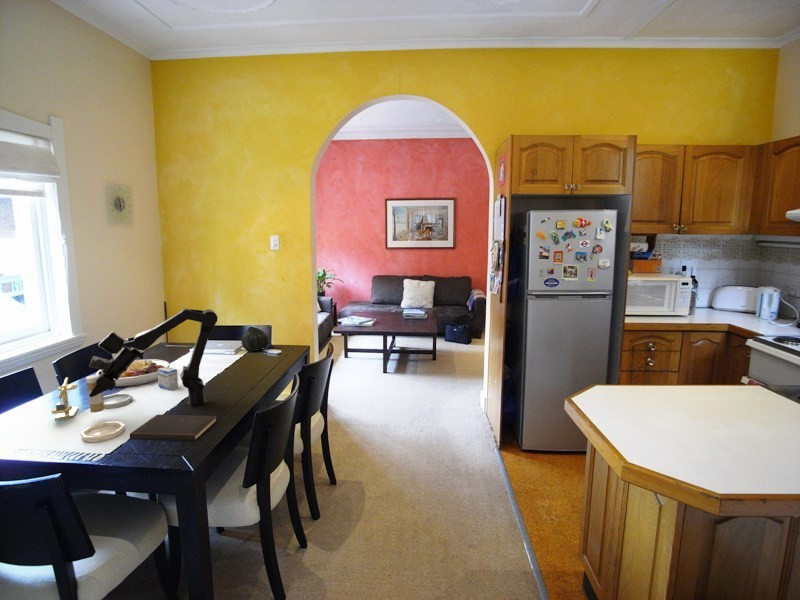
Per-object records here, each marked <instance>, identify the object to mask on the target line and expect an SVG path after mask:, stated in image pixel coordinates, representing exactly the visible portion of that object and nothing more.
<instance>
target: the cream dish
mask: <svg viewBox="0 0 800 600" xmlns="http://www.w3.org/2000/svg"><path fill="white" fill-rule="evenodd" d="M124 429H125V424H123V422H121V421H105V422H100V423H97V424H94V425H89V426H88V427H86V428H85V429H84V430H82V431H81V432H80V436H81V440H82V441H83V442H86V443H98V442H105V441H108V440H111V439H114V438H116V437H118V436H120V435H121V434H122V433H124V431H125V430H124Z"/></svg>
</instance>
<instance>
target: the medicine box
mask: <svg viewBox="0 0 800 600" xmlns="http://www.w3.org/2000/svg"><path fill="white" fill-rule="evenodd" d="M157 380H158V381H157V382H158V388H159V387H160V388H159V389H163V388H164V389H165V390H167V389H168V390H169V391H172V390H175V389H177V387H178V388H179V382H178V381H179V379H178V369H175V368H172V367H169V368H168V367H164V368H160V369H158V379H157ZM174 388H175V389H174ZM171 389H172V390H171ZM168 390H167V391H168Z"/></svg>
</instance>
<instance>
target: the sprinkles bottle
mask: <svg viewBox="0 0 800 600" xmlns="http://www.w3.org/2000/svg"><path fill="white" fill-rule="evenodd" d="M98 376H99V375H96V374H91V375H88V376H86V377H85V382H86V385H87V393H88V394H87V395H88V402H89V411H90V413H99V412H103V411H104V410H106V409H105V407H104V399H103V396H104V392H102V393H100V394H98V395H96V396H93V397H90V396H89V395H90V393H91V392H92V390H93V389H94V387H95V386H96V384H97V383H96V378H98Z"/></svg>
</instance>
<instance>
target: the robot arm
mask: <svg viewBox="0 0 800 600" xmlns="http://www.w3.org/2000/svg"><path fill="white" fill-rule="evenodd" d="M187 320H189V321H193V322H198V323H199V332H198V335H197V337H196V341H195V344H194V347H193V351H192V354H191V356H190V360H189V363H188V365H187V366H186V365H183V367H182V371H181V373H180V374H179V376H180V380H181V384H182V386H183V387H184V388H187V391H188V393H187V394H188V401H186V402H185V404H186V405H188V406H190V407H192V408H194V407H198V406H201V405H204V404H208V403H209V400H207V399H205V391H204V388H205V384H204V381H203V379H202V378H200V376H199V375H200V365H201V362H202V359H203V357H204V352H205V349H206V346H207V343H208V340H209V338H210V337H209V336H210V334H211V333H212V331H213V330H214V328H215V326H216V324H217V323H218V315H217V313H216V312H215V311H214V310H212V309H205V310H202V309H201V310H200V309H191V308H188V307H187V308H183V309H182V310H181V311H179V312H177V313H175V314H174V315H172V316H171V317H169V318H168V319H166V320H164V321H163V322H161V323H159V324H158V325H155V326H154V327H151V328H149V329H146V330H144V331H141V332H139V333H137V334H136V335H135V336H131V337H126V338H123V337H122V336H120V335H118V334H117V333H116V332H114V331H111V332H110V333H108V335H107V336H104V338H103V339H102V340H101V341H100V342H99V343H98V345H97V346H98V347H99V348H101V349H103V350H104V351H105V352H107V353H109V354H111V355H113V354H114V355H116V356H115V357H112V358H111V359H107V358H104V357H99V356H97V355H96V356H95V355H93V356H92V358H91V359H90V362H89V365H88V367H89V368H90V369H98V371H99V370H103V371H102V372H101V371H99V376H98V378H96V383H97V384H96V386H95V387H94V389H93V390H92V392H91V393H90V395H89V394H88V397H89V396H90V397H93V396H96V395H98V394H100V393H102V392H103V393H104V392H106V391H108V390H109V391H111V392H112V391H113V390H114V388H115V386H116V380H118V379H119V376H120V375H121V374H122V373H123V372H124V371H126V370H127V369H128V367H129V366H130V365H131V364H132V363H133V362H134V361H135V360H138V358H139V359H140V360H143V359H145V351H146V350H147V349H148V348H150V347H151V346H152V345H153V344H154V343H155V342H156V341H157V340H158V339H160V337H162V336H163V335H165V334H166V333H168V332H169V331H171V330H172V329H175V328H176V327H178V326H180V325H181V324H182V323H184V322H186V321H187ZM114 379H116V380H114Z"/></svg>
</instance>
